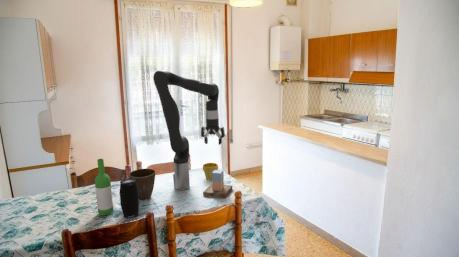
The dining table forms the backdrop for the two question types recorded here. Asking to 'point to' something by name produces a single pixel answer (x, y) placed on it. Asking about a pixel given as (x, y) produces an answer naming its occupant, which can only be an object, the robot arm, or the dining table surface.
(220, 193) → the walnut board
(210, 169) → the plant pot
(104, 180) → the wine bottle
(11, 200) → the dining table surface
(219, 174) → the slate blue block
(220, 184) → the terracotta block
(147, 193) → the plant pot
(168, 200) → the dining table surface
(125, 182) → the portable speaker
